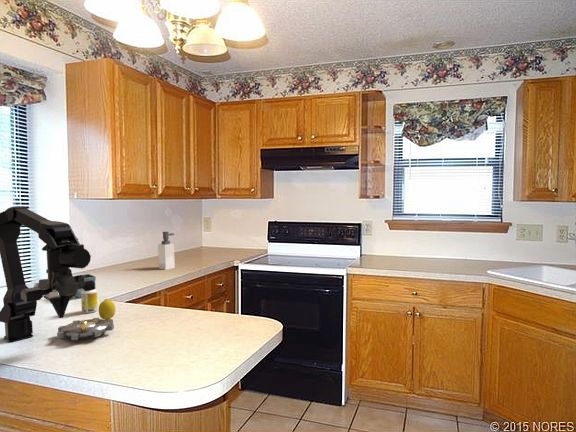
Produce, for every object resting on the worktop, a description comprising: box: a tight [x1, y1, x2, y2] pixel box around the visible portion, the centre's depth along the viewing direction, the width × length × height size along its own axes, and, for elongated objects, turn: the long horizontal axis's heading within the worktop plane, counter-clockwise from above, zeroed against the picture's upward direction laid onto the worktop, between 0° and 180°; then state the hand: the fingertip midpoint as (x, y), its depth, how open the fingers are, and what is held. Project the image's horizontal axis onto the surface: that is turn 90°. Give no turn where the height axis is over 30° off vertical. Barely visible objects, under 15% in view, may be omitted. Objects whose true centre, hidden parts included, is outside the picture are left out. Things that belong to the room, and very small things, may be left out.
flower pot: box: [73, 273, 97, 299], centre depth 181 cm, size 9×9×9 cm
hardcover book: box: [37, 278, 48, 289], centre depth 203 cm, size 16×23×2 cm
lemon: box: [98, 298, 116, 320], centre depth 146 cm, size 6×6×8 cm
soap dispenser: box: [157, 231, 176, 270], centre depth 244 cm, size 6×9×22 cm
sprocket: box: [56, 317, 115, 341], centre depth 131 cm, size 17×17×4 cm
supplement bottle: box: [80, 289, 99, 314], centre depth 157 cm, size 6×6×10 cm
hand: (61, 317), depth 121 cm, fingers closed
